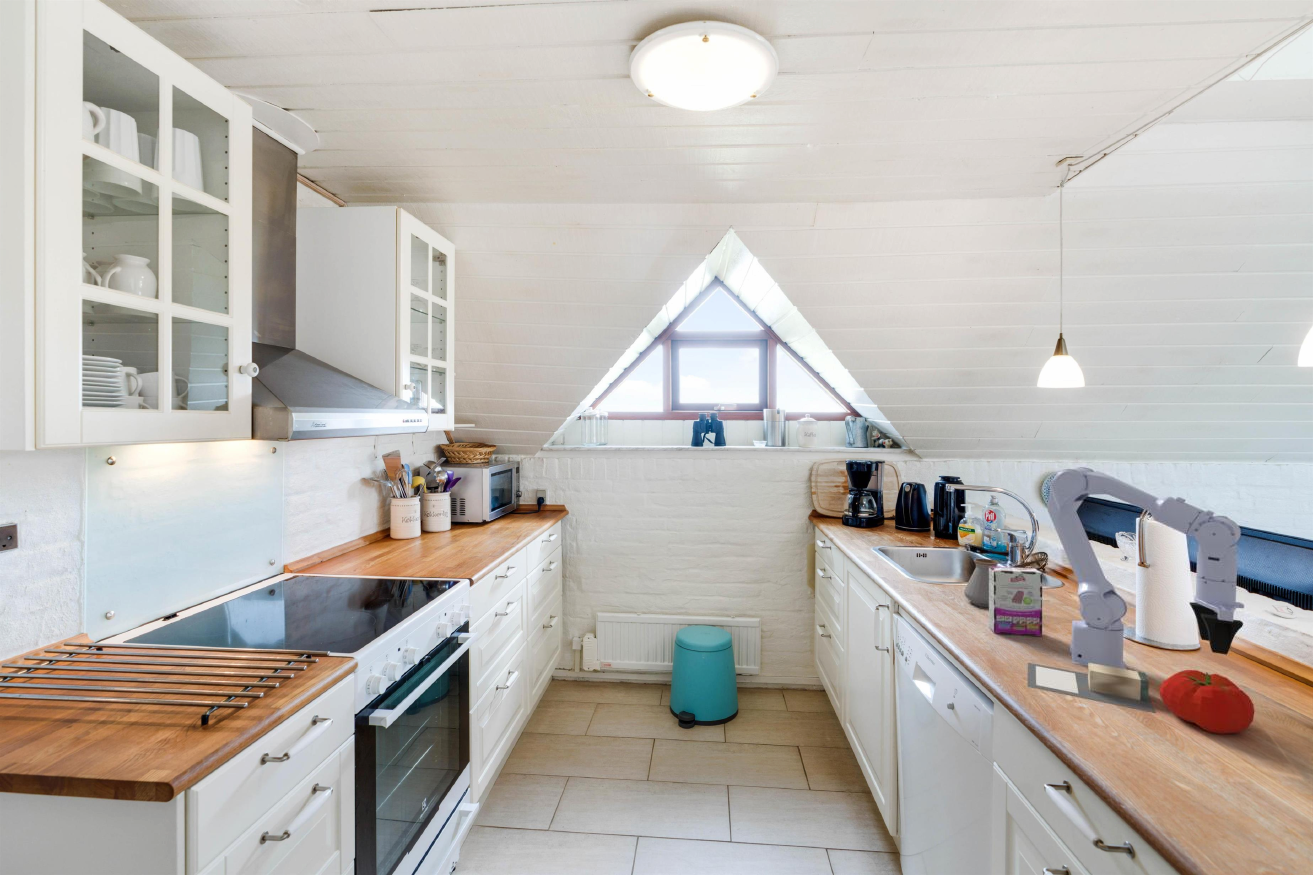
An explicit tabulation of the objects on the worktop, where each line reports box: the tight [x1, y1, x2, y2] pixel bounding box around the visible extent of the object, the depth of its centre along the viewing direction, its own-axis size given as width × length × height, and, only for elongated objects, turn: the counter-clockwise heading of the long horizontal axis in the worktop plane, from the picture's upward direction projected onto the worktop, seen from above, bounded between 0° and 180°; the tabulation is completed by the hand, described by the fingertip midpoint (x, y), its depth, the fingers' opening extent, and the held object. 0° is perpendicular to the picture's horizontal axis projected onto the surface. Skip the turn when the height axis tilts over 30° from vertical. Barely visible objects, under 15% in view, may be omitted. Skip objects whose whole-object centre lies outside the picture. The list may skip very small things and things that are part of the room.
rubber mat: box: [1026, 662, 1156, 714], centre depth 119 cm, size 20×14×1 cm
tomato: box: [1158, 669, 1256, 735], centre depth 104 cm, size 13×12×8 cm
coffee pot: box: [963, 557, 1049, 608], centre depth 172 cm, size 21×12×15 cm, turn 68°
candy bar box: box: [988, 566, 1043, 637], centre depth 150 cm, size 11×5×16 cm, turn 76°
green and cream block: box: [1087, 663, 1150, 702], centre depth 116 cm, size 9×5×4 cm, turn 57°
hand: (1213, 646), depth 115 cm, fingers open, 7 cm apart
